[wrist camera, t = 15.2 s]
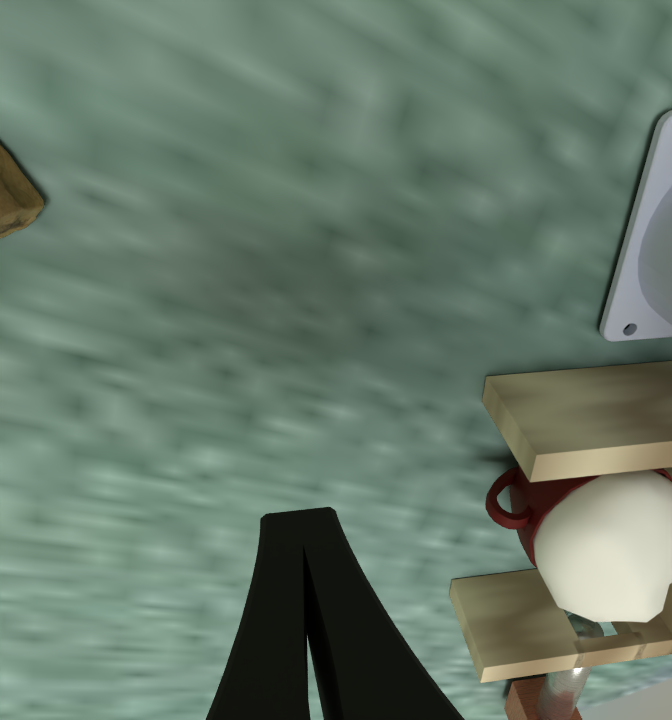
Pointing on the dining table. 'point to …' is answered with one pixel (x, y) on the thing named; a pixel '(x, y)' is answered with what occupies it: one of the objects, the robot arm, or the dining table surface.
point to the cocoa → (595, 539)
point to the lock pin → (553, 686)
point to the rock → (16, 197)
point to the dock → (560, 461)
